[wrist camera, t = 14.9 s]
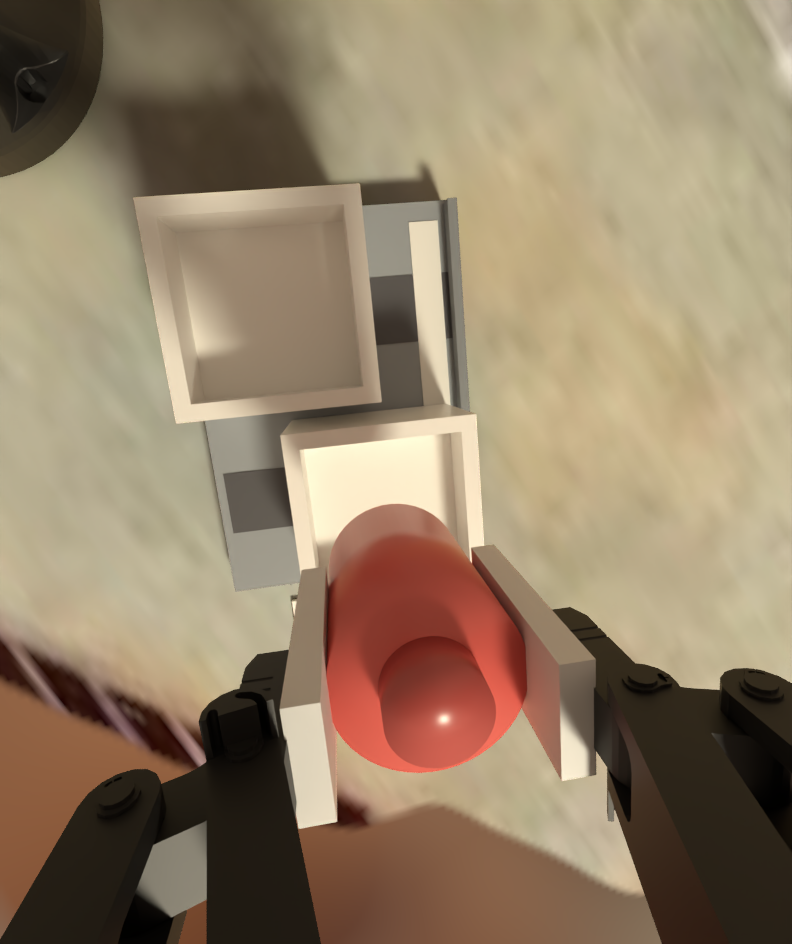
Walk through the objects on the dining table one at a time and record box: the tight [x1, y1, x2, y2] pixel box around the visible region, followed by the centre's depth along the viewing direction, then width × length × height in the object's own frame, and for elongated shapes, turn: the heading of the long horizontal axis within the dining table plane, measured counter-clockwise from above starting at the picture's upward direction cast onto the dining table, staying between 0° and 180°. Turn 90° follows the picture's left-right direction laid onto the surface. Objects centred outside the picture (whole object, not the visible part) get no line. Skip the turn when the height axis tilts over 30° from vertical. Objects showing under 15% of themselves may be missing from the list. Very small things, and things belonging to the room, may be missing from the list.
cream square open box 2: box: [280, 404, 484, 579], centre depth 27 cm, size 9×9×6 cm
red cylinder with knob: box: [326, 504, 527, 773], centre depth 14 cm, size 5×5×8 cm
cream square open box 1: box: [133, 183, 382, 424], centre depth 24 cm, size 9×9×6 cm
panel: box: [205, 198, 470, 615], centre depth 30 cm, size 15×26×3 cm, turn 5°
